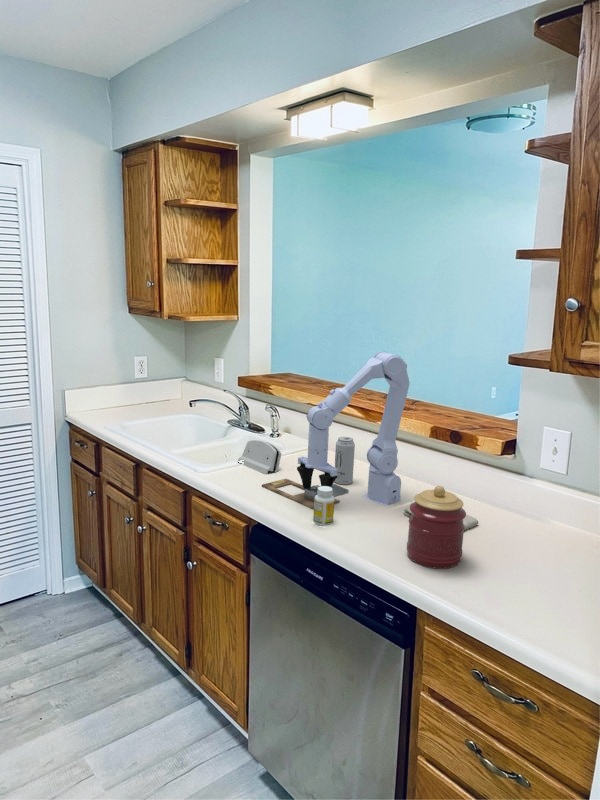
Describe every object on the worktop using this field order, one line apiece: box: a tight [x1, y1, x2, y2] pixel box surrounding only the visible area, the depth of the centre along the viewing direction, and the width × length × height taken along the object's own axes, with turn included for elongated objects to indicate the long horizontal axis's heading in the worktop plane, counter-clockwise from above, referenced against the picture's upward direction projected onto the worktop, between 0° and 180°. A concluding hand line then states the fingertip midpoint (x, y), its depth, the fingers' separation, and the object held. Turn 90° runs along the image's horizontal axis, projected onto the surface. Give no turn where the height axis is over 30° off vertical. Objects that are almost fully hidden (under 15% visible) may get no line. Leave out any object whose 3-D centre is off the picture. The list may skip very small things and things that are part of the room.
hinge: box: [237, 439, 282, 476], centre depth 201 cm, size 17×5×10 cm, turn 43°
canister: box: [406, 485, 467, 569], centre depth 137 cm, size 13×13×18 cm
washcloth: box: [403, 506, 479, 531], centre depth 161 cm, size 12×18×3 cm, turn 43°
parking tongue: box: [331, 483, 350, 498], centre depth 179 cm, size 8×7×2 cm
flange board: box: [261, 478, 341, 511], centre depth 175 cm, size 24×10×2 cm, turn 42°
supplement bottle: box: [312, 485, 335, 527], centre depth 156 cm, size 5×5×10 cm
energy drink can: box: [334, 436, 356, 486], centre depth 186 cm, size 6×6×15 cm
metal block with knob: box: [303, 485, 321, 502], centre depth 170 cm, size 5×5×4 cm
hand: (315, 493), depth 170 cm, fingers open, 7 cm apart
